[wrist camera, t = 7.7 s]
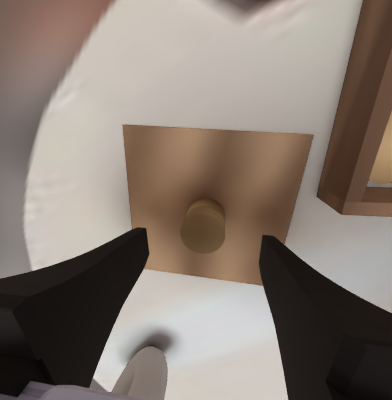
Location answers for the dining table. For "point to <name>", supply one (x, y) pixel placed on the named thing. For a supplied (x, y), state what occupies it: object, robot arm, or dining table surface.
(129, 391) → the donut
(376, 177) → the biscuit
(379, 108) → the box
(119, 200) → the dining table surface
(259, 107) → the dining table surface
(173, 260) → the lid
